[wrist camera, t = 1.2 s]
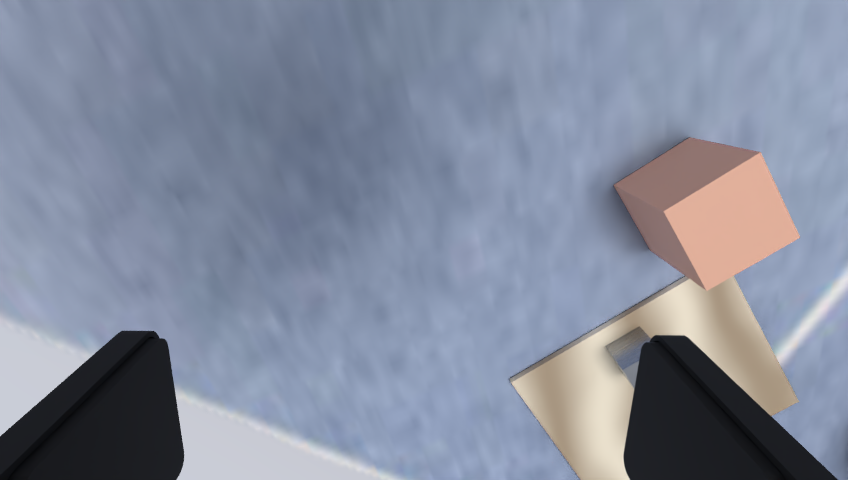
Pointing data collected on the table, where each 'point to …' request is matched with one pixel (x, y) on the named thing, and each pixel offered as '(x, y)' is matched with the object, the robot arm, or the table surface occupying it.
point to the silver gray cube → (628, 352)
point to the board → (612, 393)
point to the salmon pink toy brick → (708, 209)
